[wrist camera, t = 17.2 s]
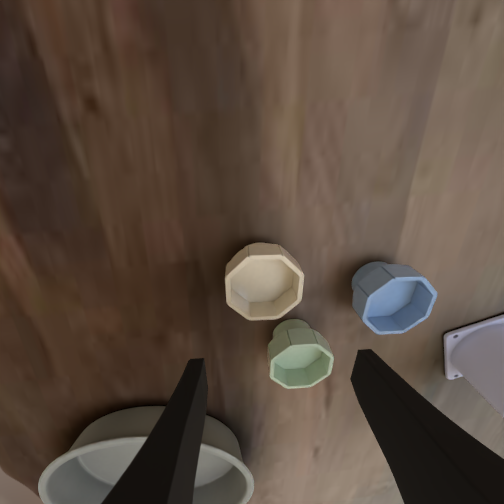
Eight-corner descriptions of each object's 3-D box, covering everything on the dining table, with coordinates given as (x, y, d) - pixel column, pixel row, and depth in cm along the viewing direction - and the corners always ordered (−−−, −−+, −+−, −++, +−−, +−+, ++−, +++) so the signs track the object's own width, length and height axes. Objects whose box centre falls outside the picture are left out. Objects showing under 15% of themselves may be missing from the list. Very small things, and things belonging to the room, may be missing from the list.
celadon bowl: (321, 311, 23) (337, 342, 20) (315, 351, 26) (328, 386, 22) (265, 313, 23) (271, 346, 19) (264, 354, 25) (269, 390, 22)
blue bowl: (409, 252, 21) (445, 275, 17) (393, 302, 23) (422, 332, 20) (348, 254, 21) (372, 278, 17) (338, 305, 23) (357, 336, 19)
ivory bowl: (293, 232, 19) (307, 253, 16) (289, 288, 22) (299, 318, 18) (225, 234, 19) (223, 256, 15) (228, 291, 21) (227, 321, 18)
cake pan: (130, 506, 38) (117, 550, 34) (18, 428, 28) (-19, 477, 24) (272, 471, 36) (277, 513, 32) (210, 372, 26) (205, 415, 22)
